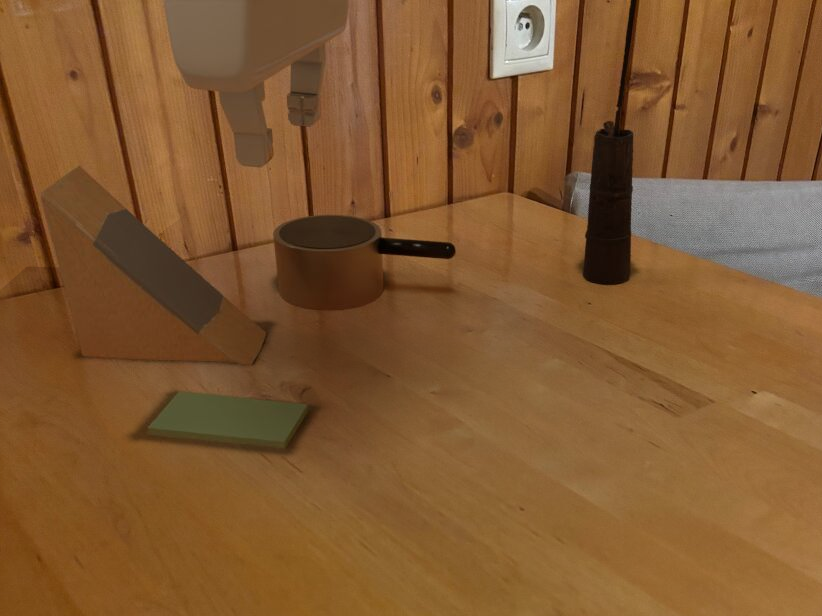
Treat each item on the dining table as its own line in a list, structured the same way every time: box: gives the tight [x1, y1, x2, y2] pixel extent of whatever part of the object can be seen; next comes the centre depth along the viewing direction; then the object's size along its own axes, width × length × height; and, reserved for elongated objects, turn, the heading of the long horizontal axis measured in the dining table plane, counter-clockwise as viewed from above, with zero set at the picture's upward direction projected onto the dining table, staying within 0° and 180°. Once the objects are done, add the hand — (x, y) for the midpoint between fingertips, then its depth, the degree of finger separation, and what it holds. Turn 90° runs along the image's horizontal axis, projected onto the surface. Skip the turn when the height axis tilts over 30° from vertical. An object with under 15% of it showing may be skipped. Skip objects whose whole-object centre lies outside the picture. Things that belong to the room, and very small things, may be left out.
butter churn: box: [582, 0, 637, 285], centre depth 95 cm, size 9×10×28 cm
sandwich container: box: [40, 165, 268, 366], centre depth 83 cm, size 9×15×15 cm, turn 86°
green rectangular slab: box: [147, 391, 309, 449], centre depth 75 cm, size 12×7×2 cm, turn 80°
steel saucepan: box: [272, 214, 457, 311], centre depth 97 cm, size 19×11×6 cm, turn 80°
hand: (281, 142), depth 58 cm, fingers open, 8 cm apart
